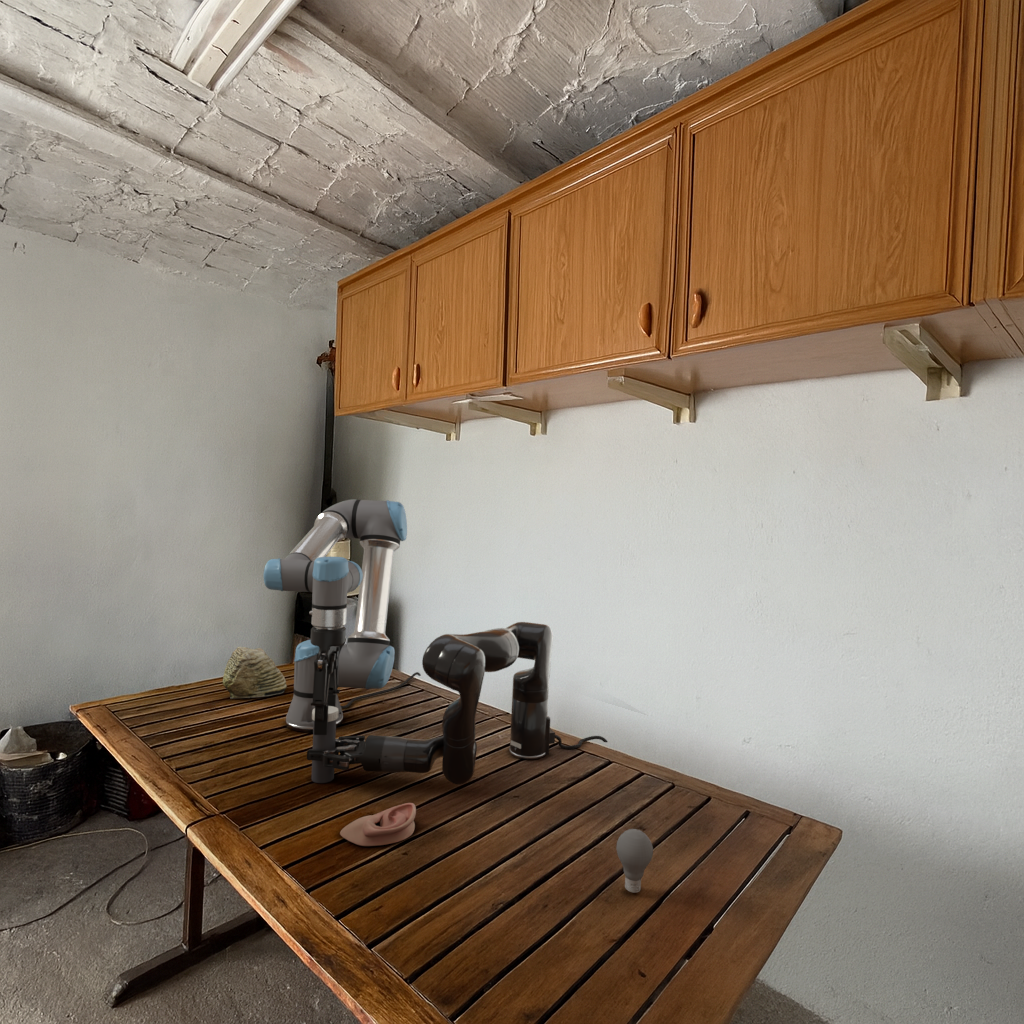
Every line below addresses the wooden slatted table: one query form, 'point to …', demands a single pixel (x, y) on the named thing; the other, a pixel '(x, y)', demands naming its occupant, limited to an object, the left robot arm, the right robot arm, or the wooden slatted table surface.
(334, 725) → the jar
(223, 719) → the wooden slatted table surface
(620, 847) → the light bulb
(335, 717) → the lid
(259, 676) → the fossil
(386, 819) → the anatomical model
